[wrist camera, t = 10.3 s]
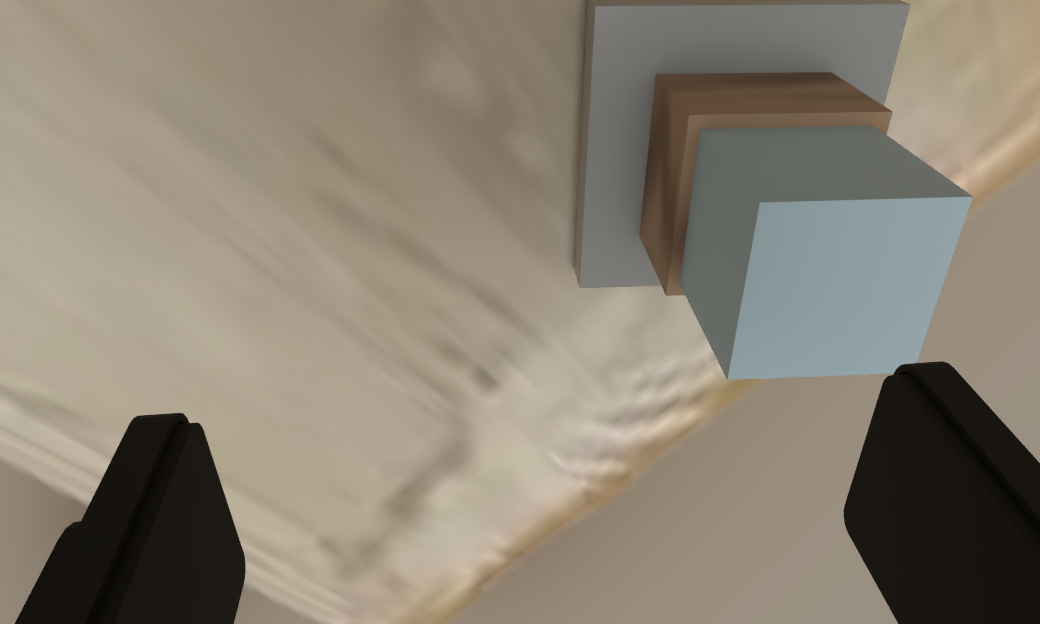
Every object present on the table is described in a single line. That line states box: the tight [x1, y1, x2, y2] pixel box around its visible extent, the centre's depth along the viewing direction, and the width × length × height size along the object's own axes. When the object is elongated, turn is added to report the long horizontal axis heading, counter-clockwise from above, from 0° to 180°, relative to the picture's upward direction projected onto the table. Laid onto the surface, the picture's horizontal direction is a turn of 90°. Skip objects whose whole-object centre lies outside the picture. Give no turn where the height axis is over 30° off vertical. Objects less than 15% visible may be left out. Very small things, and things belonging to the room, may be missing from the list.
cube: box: [680, 126, 973, 380], centre depth 25 cm, size 6×6×6 cm
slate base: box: [574, 0, 910, 288], centre depth 33 cm, size 12×12×2 cm
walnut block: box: [639, 72, 892, 296], centre depth 30 cm, size 7×7×5 cm
